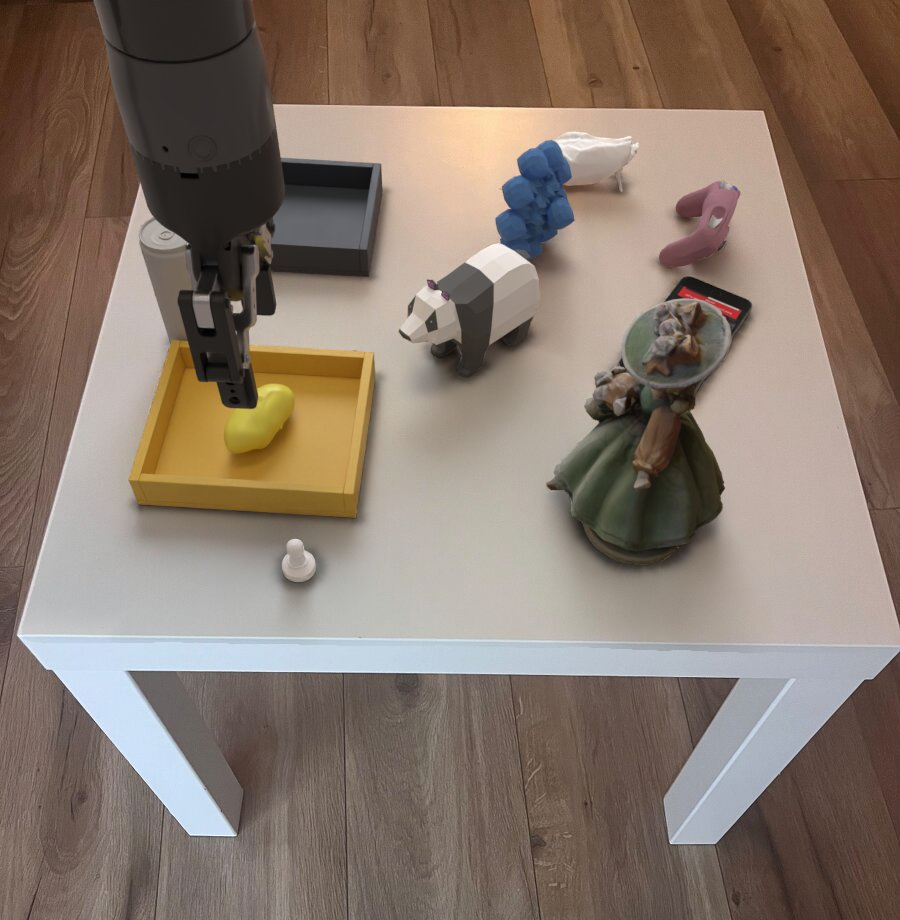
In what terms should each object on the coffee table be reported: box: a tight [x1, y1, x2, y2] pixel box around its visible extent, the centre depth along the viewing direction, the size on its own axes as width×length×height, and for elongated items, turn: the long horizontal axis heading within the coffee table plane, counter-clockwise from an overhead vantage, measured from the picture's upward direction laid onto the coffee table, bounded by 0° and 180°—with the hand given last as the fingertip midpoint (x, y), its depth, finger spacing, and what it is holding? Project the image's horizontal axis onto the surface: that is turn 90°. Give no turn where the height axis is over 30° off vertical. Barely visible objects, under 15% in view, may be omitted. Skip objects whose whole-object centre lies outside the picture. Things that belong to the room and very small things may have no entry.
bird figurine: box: [554, 130, 641, 193], centre depth 95 cm, size 5×7×10 cm
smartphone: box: [617, 275, 753, 393], centre depth 85 cm, size 7×1×15 cm
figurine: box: [545, 298, 733, 566], centre depth 67 cm, size 14×14×20 cm
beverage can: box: [137, 216, 192, 345], centre depth 78 cm, size 5×5×12 cm
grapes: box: [494, 139, 576, 261], centre depth 85 cm, size 12×7×12 cm, turn 147°
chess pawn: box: [281, 538, 317, 583], centre depth 69 cm, size 3×3×4 cm
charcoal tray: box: [270, 157, 383, 278], centre depth 91 cm, size 16×14×3 cm
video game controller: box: [658, 178, 741, 268], centre depth 90 cm, size 10×5×7 cm, turn 161°
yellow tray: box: [127, 340, 376, 519], centre depth 76 cm, size 18×16×3 cm
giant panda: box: [398, 242, 540, 379], centre depth 79 cm, size 15×6×10 cm, turn 133°
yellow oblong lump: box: [224, 384, 295, 454], centre depth 75 cm, size 4×8×4 cm, turn 145°
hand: (251, 356), depth 60 cm, fingers open, 8 cm apart
